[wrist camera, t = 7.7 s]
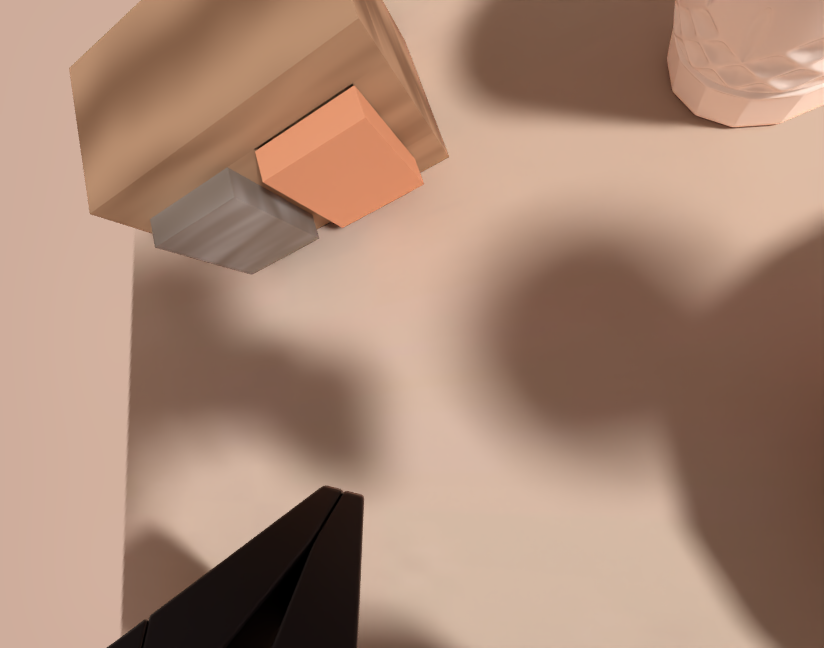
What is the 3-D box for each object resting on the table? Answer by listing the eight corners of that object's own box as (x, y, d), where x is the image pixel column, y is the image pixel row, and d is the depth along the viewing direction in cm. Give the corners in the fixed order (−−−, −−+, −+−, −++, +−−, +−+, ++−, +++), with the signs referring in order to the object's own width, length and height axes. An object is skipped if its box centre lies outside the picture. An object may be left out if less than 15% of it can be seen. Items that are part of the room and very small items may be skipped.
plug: (423, 184, 21) (365, 117, 15) (342, 227, 22) (262, 182, 17) (370, 35, 23) (302, -70, 17) (300, 85, 25) (217, 3, 19)
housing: (458, 180, 22) (371, 54, 13) (257, 285, 26) (94, 244, 18) (404, 40, 24) (299, -150, 15) (227, 160, 28) (69, 68, 20)
